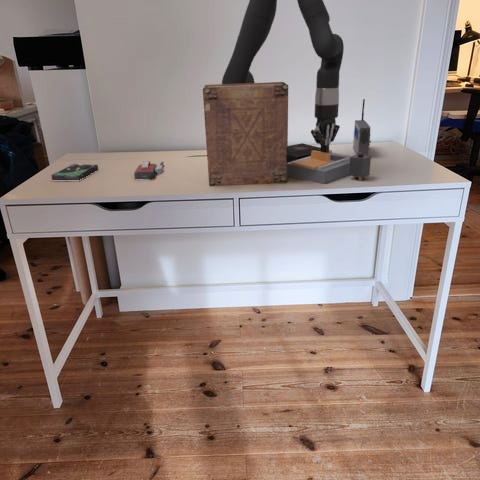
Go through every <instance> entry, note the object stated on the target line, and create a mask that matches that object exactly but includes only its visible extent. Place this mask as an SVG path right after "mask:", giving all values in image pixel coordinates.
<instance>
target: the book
mask: <svg viewBox="0 0 480 480" xmlns="http://www.w3.org/2000/svg"><path fill="white" fill-rule="evenodd" d="M202 97H203V98H202V99H203V110H204V111H203V114H204V126H205V127H204V128H205V140H206V141H205V143H206V144H205V145H206V156H207V159H206V160H207V173H208V186H210V187H221V186H222V187H223V186H224V187H225V186H240V185H242V186H245V185H264V184H269V185H271V184H286V183H287V182H288V175H287V149H288V146H289V145H288V143H289V142H288V140H289V137H288V136H289V135H288V134H289V128H288V127H289V84H287V83H286V82H284V81H276V82H275V81H273V82H272V81H271V82H270V81H269V82H255V83H242V84H222V83H219V84H218V83H217V84H216V83H214V84H205V85H204V87H203V88H202Z"/></svg>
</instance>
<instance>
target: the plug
mask: <svg viewBox="0 0 480 480" xmlns="http://www.w3.org/2000/svg"><path fill="white" fill-rule="evenodd" d="M354 155H355V156H353V155H351V156H352V157H350V168H349V175H348V176H352V179H353V180H356V178H358V180H359V181H362V179H363V178H364V177H367V176H369V175H370V174H371V173H370V170H371V161H372V160H371V159H372V156H370V155H368V156H366V155H364V153H363V152H358V155H356V154H354Z"/></svg>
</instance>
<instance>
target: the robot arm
mask: <svg viewBox="0 0 480 480" xmlns="http://www.w3.org/2000/svg"><path fill="white" fill-rule="evenodd" d="M248 1H249V2H248V5H246V6H247V7H246V10H245V12H244V16H243V19H242V23H241V26H240V29H239V33H238V35H237V39H236V43H235V45H234V49H233V52H232V55H231V57H230V60H229V61H228V64H227V65H226V66H227V67H226V69H225V72H224V74H223V76H222V80H221V84H242V83H256V82H255V79H254V76H253V75H254V74H253V73H252V72H251V71H250V68H251V66H252V63H253V61H254V59H255V57H256V55H257V54H258V52H259V51H260V50H261V48H262V46H263V45H264V43H265V42H266V41H267V38H268V36H269V35H270V34H269V33H270V32H271V29H272V26H273V23H274V20H275V17H276V12H277V5H278V0H248ZM296 1H297V4H298V5H297V6H298V8H299V11H300V13H301V16H302V18H303V20H304V22H305V25H306V27H307V29H308V32H309V38H310V40H311V45H312V47H313V50H314V52H315V54H316V55H317V56H318V57H319V58H320V59H321V61H320V67H319V68H318V70H317V73H316V83H315V84H316V89H315V96H314V118H316V123H315V128H314V129H311V130H310V134H311V135H312V137H313V139H314V141H315V143H316V144H317V145H320V148H321V150H320V152H326V153H329V150H330V144H331V143H333V142H334V140H335V138H336V137H337V134H338V132H339V131H340V129H341V127H340V125H338V124H336V123H337V122H336V118H338V117H339V106H340V89H339V86H340V70H341V67H342V62H343V57H344V41H343V38H342V37H341V36H340V35H339V34H337V33H333V30H332V29H331V25H330V20H331V17H330V15H329V11H328V10H327V6H326V4H325V3H324V0H296Z"/></svg>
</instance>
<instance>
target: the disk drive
mask: <svg viewBox="0 0 480 480" xmlns="http://www.w3.org/2000/svg"><path fill="white" fill-rule="evenodd" d="M97 170H98V171H99V167H98V164H82V165H79V163H78V164H77V163H75V164H70V165H69V166H67V167H65V168H63V169H61V170H59V171H57V172H55V173H53V174H51V180H80V179H82V178H84V177H86V176H88V175H90V174H91V173H93V172H95V171H97ZM98 171H97V172H98ZM95 173H96V172H95ZM93 174H94V173H93ZM91 175H92V174H91ZM91 175H90V176H91ZM88 177H89V176H88ZM86 178H87V177H86ZM84 179H85V178H84Z"/></svg>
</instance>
